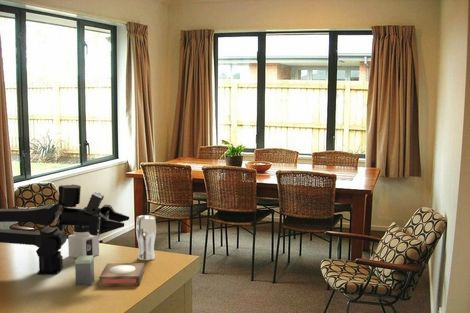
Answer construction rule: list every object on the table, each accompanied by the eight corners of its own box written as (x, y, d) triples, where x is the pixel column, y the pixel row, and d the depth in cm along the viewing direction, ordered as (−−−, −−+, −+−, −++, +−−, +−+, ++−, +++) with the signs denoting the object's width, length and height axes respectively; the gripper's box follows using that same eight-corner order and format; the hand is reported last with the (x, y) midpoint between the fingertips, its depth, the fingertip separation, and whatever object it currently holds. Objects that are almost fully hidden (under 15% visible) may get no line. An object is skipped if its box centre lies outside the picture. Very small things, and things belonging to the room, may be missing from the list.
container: (99, 254, 181) (98, 219, 179) (82, 260, 174) (81, 224, 173) (85, 250, 185) (84, 216, 183) (68, 256, 178) (67, 221, 177)
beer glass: (152, 262, 173) (151, 220, 171) (133, 260, 174) (132, 219, 172) (159, 255, 180) (158, 215, 178) (141, 254, 181) (140, 214, 179)
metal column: (75, 285, 151) (75, 260, 150) (79, 280, 155) (78, 255, 154) (90, 285, 151) (90, 260, 150) (94, 280, 156) (93, 255, 155)
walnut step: (99, 286, 150) (99, 276, 150) (107, 272, 162) (107, 263, 162) (139, 285, 151) (138, 276, 151) (144, 271, 163) (144, 262, 163)
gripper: (72, 198, 152) (123, 203, 152) (87, 188, 170) (133, 192, 171) (69, 234, 153) (120, 238, 153) (85, 220, 171) (130, 223, 172)
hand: (126, 221), depth 162 cm, fingers open, 9 cm apart
